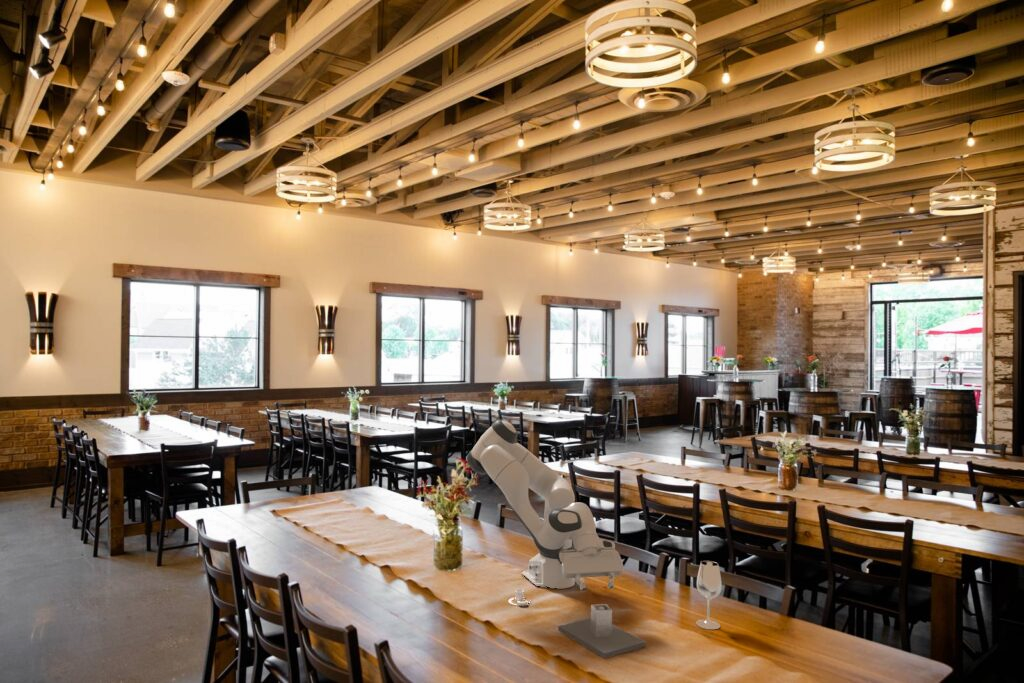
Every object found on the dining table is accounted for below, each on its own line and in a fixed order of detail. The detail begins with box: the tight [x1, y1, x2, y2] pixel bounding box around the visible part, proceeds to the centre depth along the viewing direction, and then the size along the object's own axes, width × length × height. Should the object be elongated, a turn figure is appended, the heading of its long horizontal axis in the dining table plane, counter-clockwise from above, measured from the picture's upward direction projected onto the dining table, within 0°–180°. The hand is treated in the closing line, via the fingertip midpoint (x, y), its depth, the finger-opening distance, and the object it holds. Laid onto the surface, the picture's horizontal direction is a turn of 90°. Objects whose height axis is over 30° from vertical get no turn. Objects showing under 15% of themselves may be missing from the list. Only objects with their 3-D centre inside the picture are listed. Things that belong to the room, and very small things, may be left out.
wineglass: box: [695, 560, 722, 630], centre depth 219 cm, size 8×8×20 cm
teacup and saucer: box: [508, 589, 531, 607], centre depth 234 cm, size 9×8×4 cm
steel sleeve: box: [590, 603, 613, 638], centre depth 205 cm, size 5×5×8 cm
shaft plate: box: [557, 607, 646, 659], centre depth 205 cm, size 22×16×10 cm
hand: (597, 588), depth 213 cm, fingers open, 8 cm apart
